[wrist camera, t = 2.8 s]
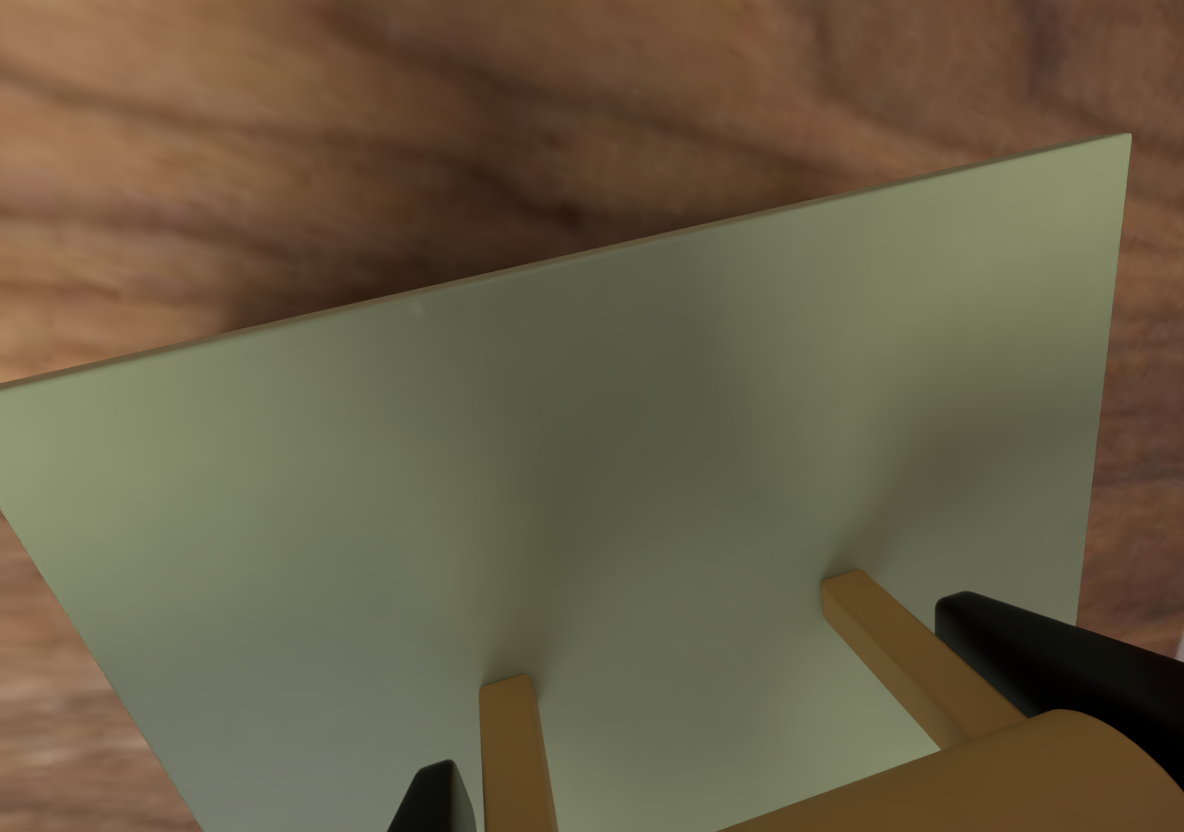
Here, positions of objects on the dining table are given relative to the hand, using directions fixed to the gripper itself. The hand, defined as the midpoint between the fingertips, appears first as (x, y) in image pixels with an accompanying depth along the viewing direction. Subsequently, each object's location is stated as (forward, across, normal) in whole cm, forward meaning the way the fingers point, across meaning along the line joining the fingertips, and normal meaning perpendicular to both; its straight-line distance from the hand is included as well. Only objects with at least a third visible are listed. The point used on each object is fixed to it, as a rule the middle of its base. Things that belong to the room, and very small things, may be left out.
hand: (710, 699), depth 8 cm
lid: (+2, 0, +1) cm, 2 cm away
